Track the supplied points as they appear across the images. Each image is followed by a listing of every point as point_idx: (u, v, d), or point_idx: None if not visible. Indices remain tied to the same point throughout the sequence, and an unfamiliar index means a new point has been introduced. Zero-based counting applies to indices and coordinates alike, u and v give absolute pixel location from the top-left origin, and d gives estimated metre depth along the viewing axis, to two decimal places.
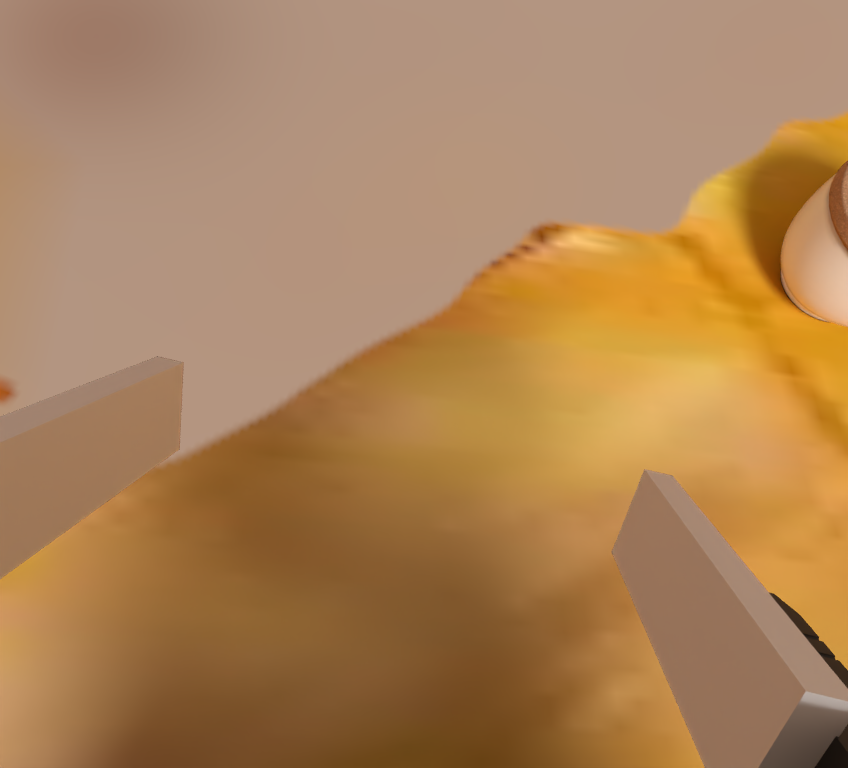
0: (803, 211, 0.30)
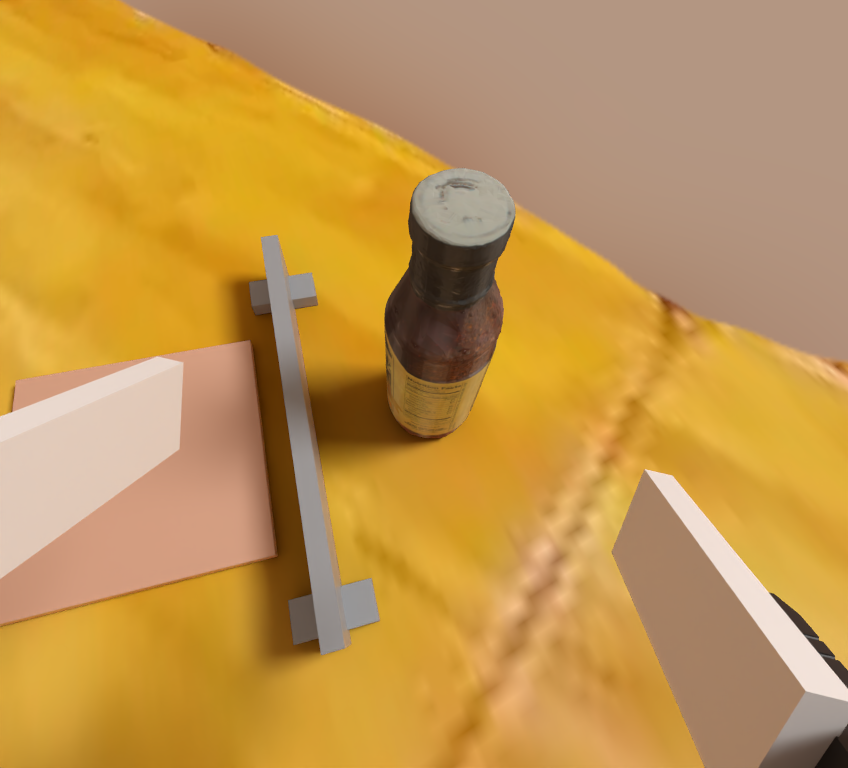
0: None
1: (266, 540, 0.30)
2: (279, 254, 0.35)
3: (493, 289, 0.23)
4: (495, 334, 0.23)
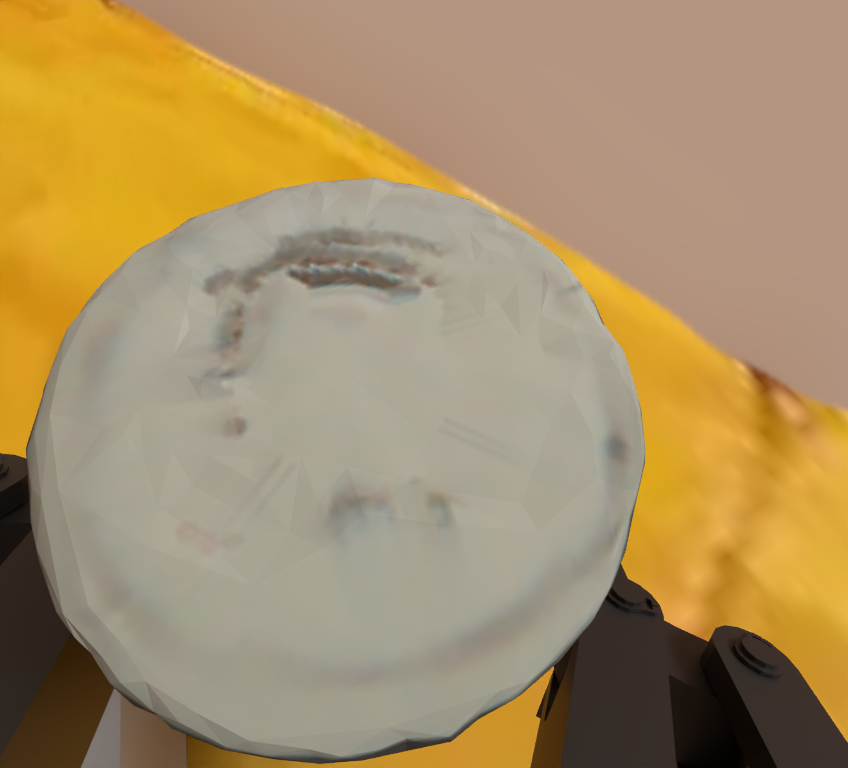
0: None
1: None
2: None
3: None
4: None
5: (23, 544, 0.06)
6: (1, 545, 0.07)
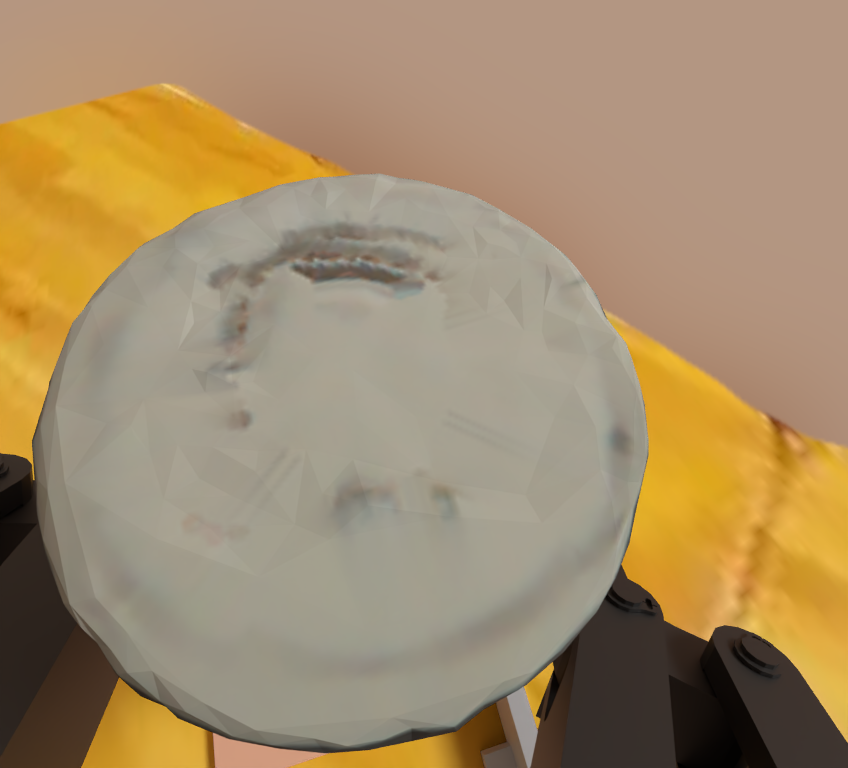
0: None
1: None
2: None
3: None
4: None
5: (23, 544, 0.06)
6: (0, 545, 0.07)
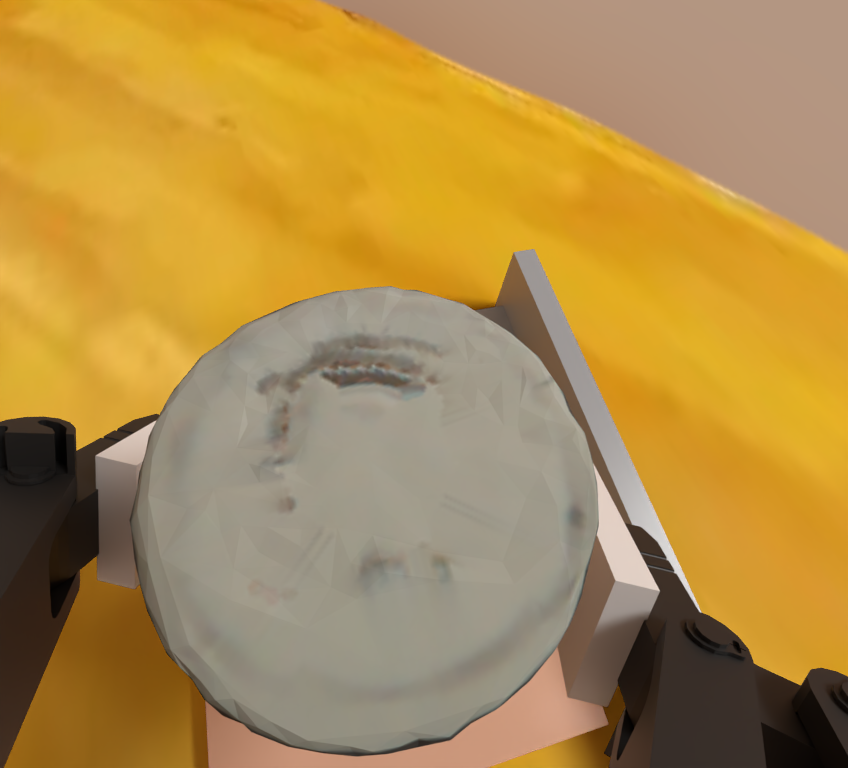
0: None
1: None
2: (545, 276, 0.25)
3: None
4: None
5: None
6: None
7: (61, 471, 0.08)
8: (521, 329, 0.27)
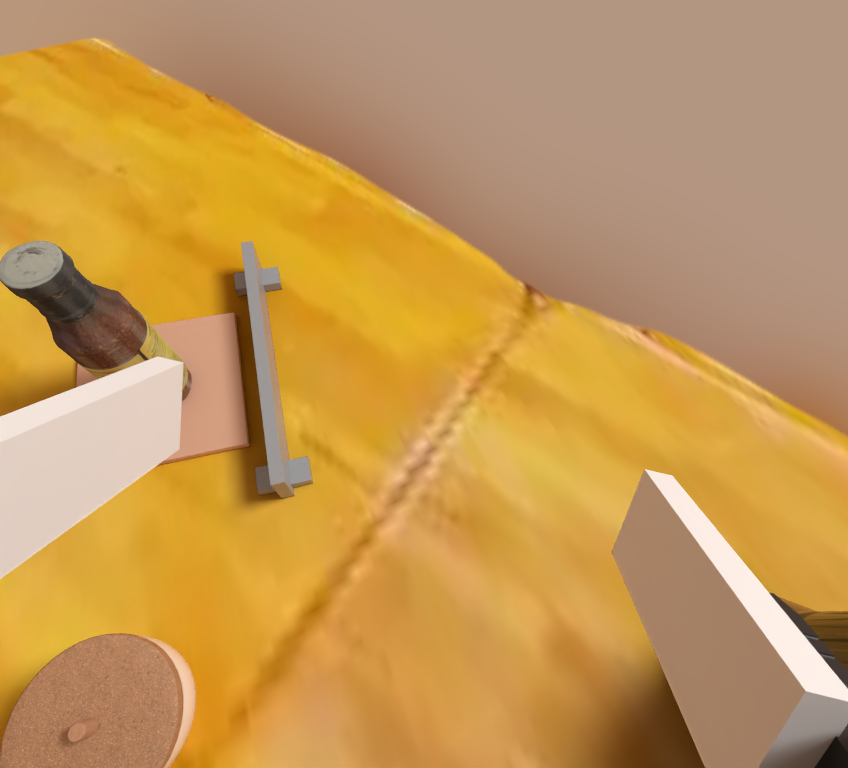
0: None
1: (242, 435, 0.47)
2: (253, 254, 0.52)
3: (106, 309, 0.36)
4: (116, 337, 0.37)
5: None
6: None
7: None
8: None
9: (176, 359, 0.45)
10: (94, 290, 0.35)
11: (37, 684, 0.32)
